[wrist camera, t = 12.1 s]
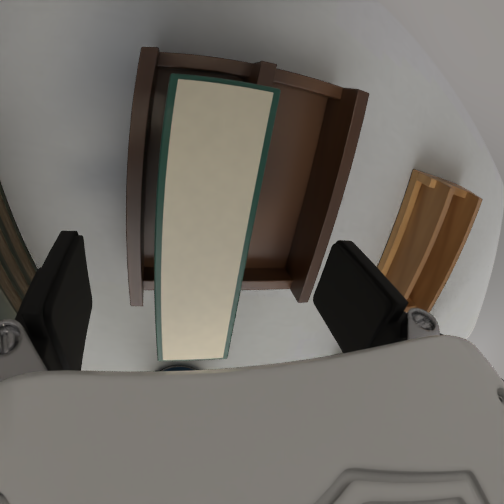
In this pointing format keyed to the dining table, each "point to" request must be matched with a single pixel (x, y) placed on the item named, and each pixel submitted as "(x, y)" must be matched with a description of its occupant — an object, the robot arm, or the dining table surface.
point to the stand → (428, 238)
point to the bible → (12, 263)
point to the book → (206, 209)
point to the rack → (275, 175)
